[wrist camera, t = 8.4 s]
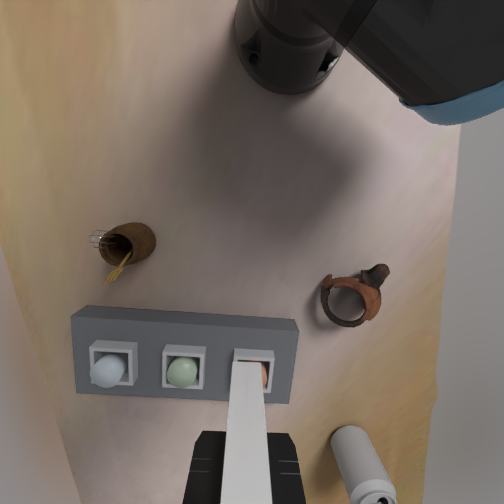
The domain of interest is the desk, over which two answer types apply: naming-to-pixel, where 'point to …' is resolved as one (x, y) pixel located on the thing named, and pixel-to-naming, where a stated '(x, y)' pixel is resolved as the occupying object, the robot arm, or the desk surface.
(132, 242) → the utensil holder
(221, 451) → the robot arm
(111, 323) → the console
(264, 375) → the terracotta button
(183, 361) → the sage button
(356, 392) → the desk surface
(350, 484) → the can
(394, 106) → the desk surface
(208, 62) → the desk surface
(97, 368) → the pale blue button
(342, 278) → the dark brown curved piece
